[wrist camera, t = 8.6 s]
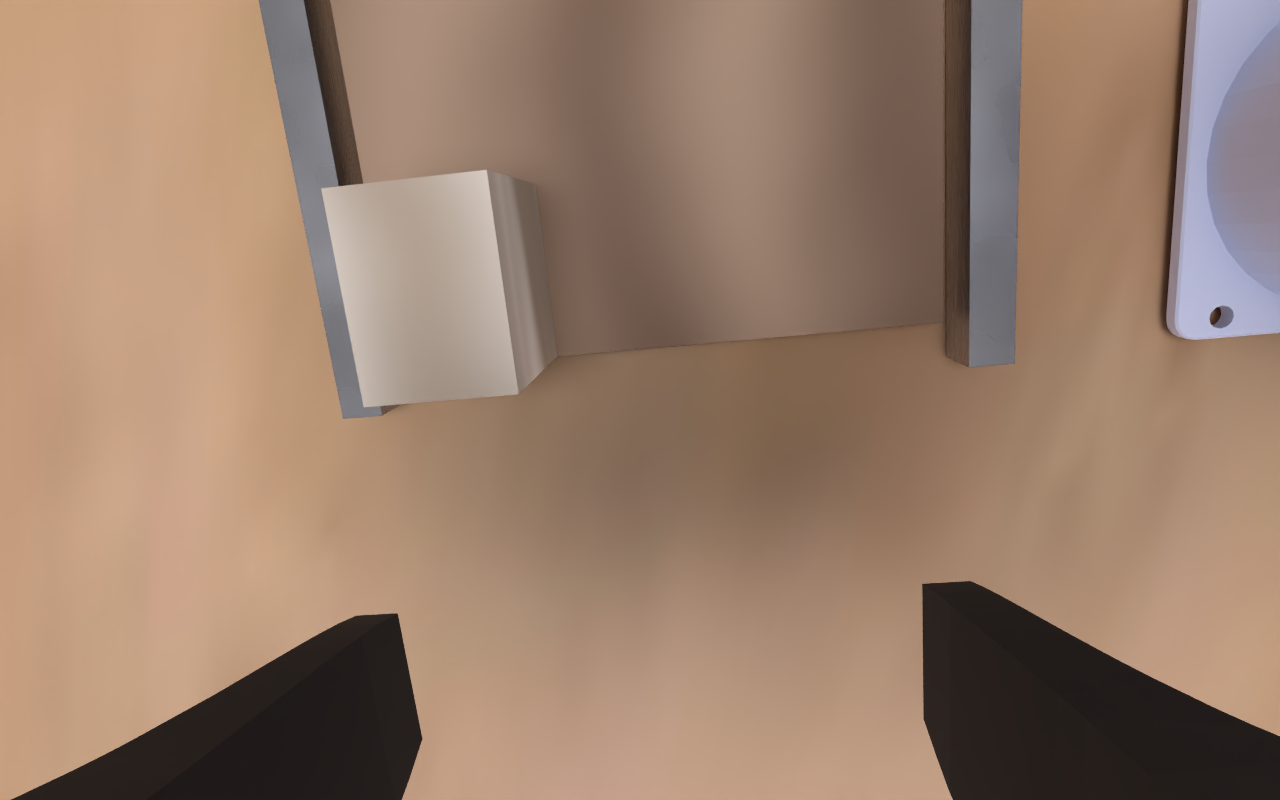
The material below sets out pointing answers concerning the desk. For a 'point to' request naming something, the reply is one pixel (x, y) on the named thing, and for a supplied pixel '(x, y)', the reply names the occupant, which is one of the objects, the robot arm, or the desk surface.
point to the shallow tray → (630, 180)
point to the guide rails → (974, 170)
